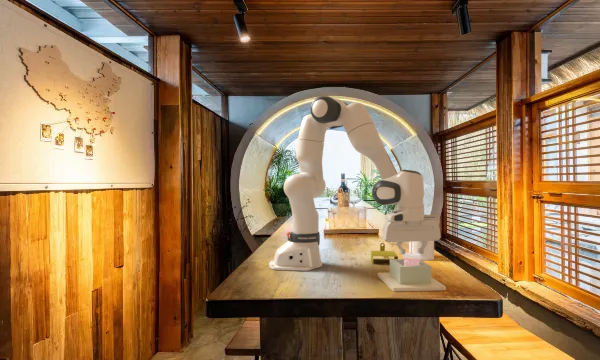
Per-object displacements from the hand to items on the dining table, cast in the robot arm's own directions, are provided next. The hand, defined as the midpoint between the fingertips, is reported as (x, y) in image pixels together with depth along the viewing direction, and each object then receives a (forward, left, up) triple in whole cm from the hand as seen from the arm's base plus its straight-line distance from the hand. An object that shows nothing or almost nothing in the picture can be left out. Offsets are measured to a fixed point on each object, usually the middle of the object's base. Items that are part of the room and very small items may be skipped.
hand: (411, 253), depth 129 cm
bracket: (-1, +29, -11) cm, 31 cm away
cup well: (-1, 0, -11) cm, 10 cm away
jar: (+19, +37, -11) cm, 43 cm away
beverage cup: (0, 0, -9) cm, 9 cm away
